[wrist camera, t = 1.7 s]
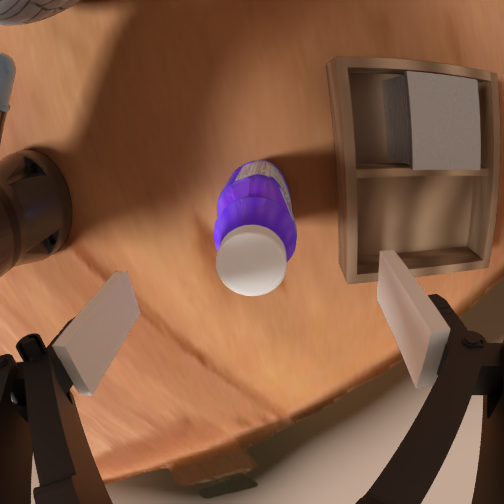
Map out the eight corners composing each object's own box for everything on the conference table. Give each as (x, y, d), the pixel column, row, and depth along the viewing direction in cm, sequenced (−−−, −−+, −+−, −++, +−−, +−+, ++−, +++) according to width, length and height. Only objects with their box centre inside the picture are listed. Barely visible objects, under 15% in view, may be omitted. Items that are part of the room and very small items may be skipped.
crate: (338, 263, 37) (347, 284, 32) (326, 65, 28) (334, 56, 24) (468, 250, 35) (488, 267, 30) (472, 75, 26) (496, 73, 22)
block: (385, 157, 31) (412, 169, 24) (379, 78, 27) (406, 70, 21) (444, 157, 30) (480, 170, 23) (440, 83, 27) (477, 79, 20)
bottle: (298, 214, 35) (317, 302, 19) (249, 231, 36) (228, 327, 20) (275, 151, 32) (277, 187, 16) (224, 169, 33) (178, 222, 18)
